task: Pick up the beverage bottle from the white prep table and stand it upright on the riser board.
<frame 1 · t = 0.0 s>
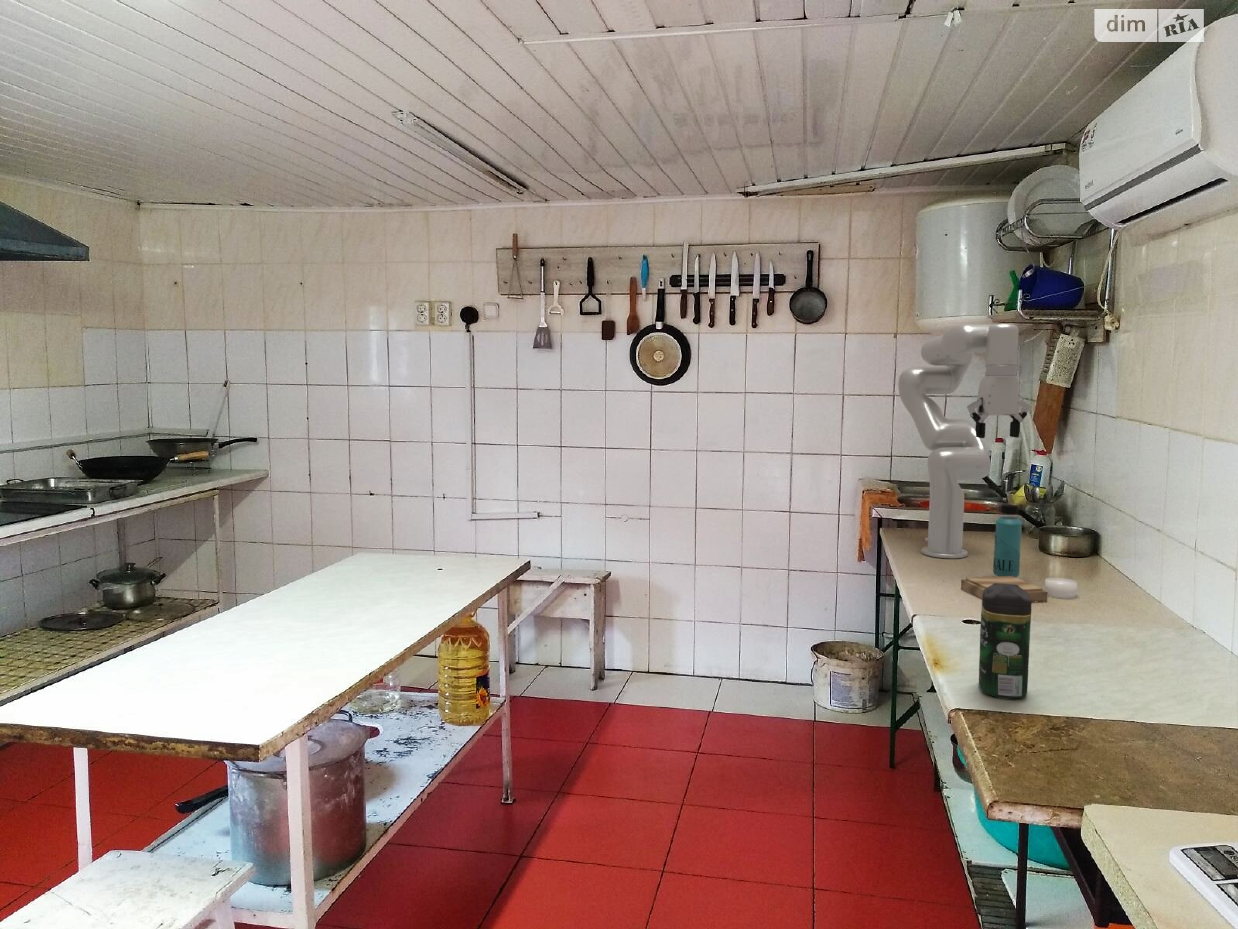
hand: (997, 437, 232), 37 cm above the kitchen counter, tool pointing down, fingers open, 9 cm apart
coffee jar: (1001, 691, 154), on the kitchen counter
white soap bar: (1060, 595, 216), on the kitchen counter
beverage bottle: (1005, 581, 230), on the kitchen counter
riser: (1002, 595, 216), on the kitchen counter
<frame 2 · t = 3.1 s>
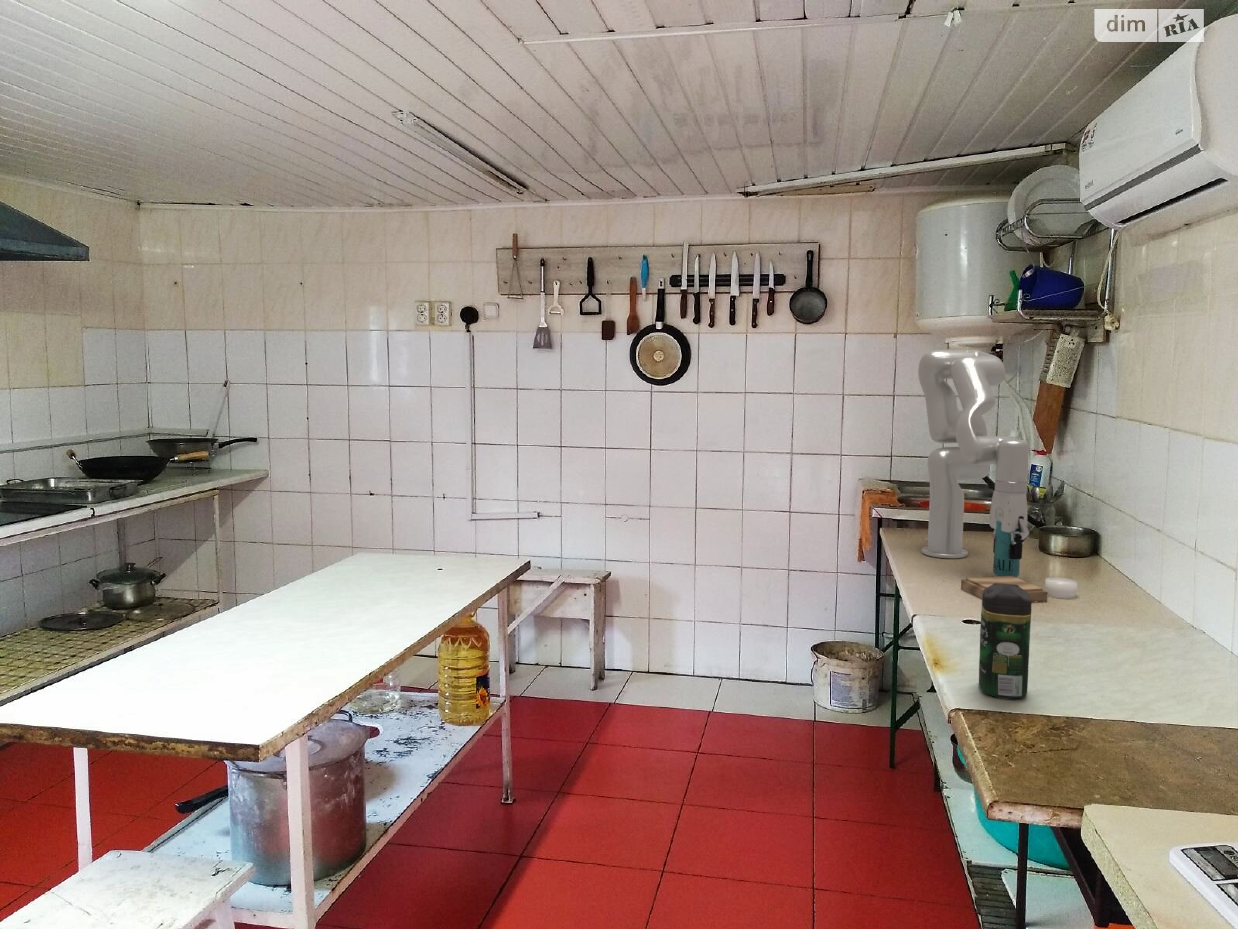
hand: (1007, 555, 229), 7 cm above the kitchen counter, tool pointing down, fingers closed on beverage bottle, 6 cm apart
beverage bottle: (1005, 581, 230), on the kitchen counter, touching gripper
everything else where it was.
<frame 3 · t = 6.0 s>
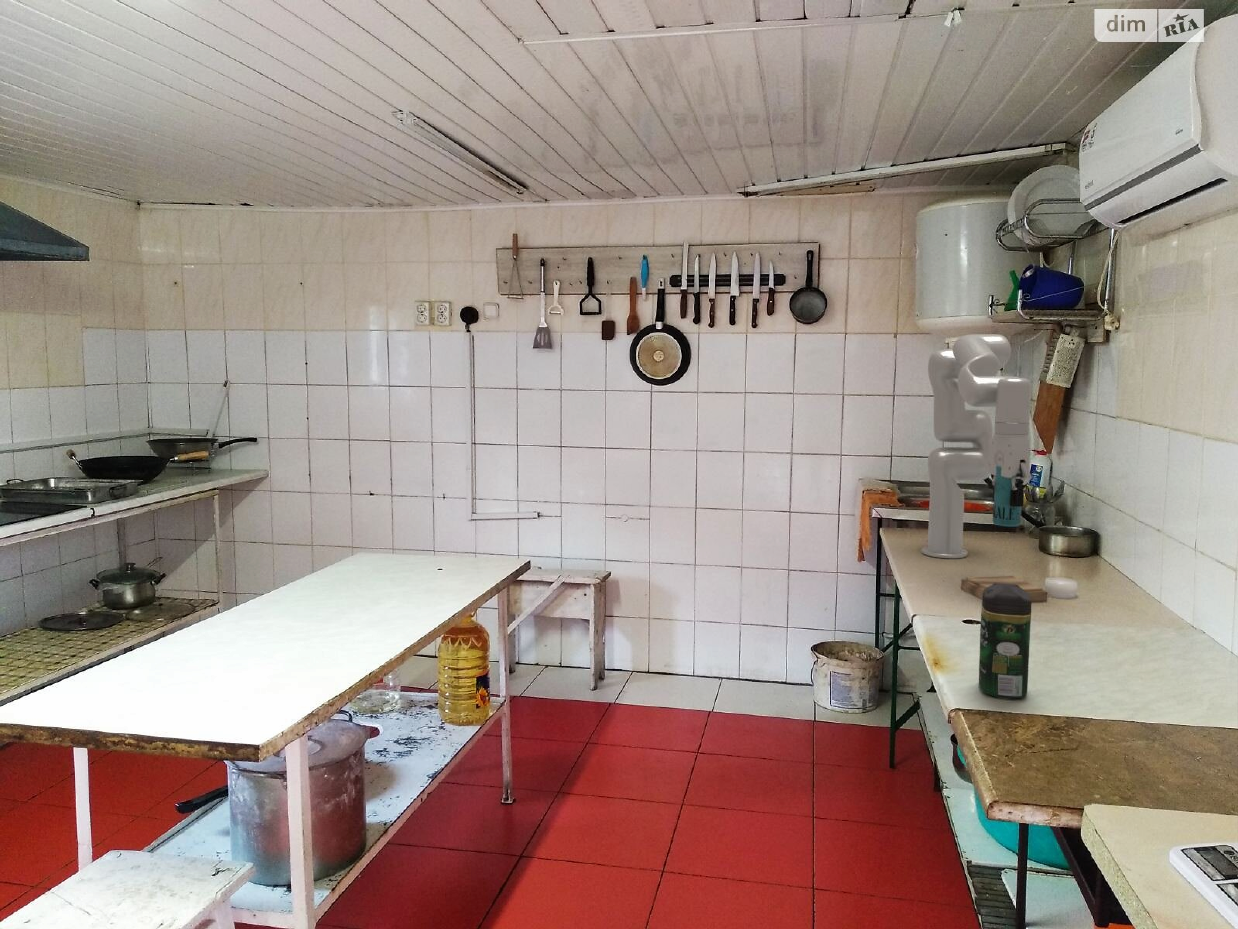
hand: (1007, 503, 213), 23 cm above the kitchen counter, tool pointing down, fingers closed on beverage bottle, 6 cm apart
beverage bottle: (1006, 531, 214), point 16 cm above the kitchen counter, touching gripper
everything else where it was.
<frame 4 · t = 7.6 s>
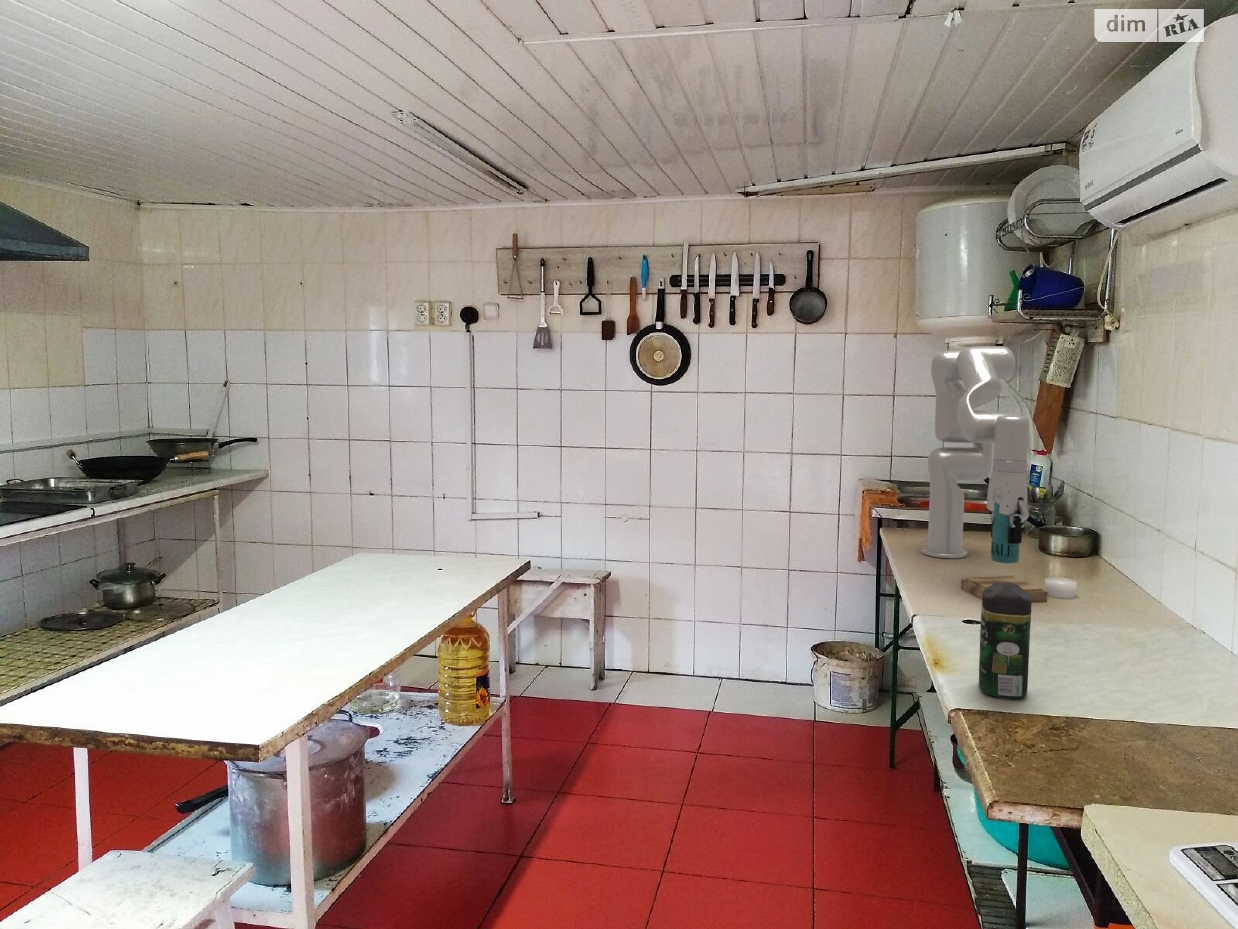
hand: (1005, 539, 214), 14 cm above the kitchen counter, tool pointing down, fingers closed on beverage bottle, 6 cm apart
beverage bottle: (1004, 567, 215), point 7 cm above the kitchen counter, touching gripper
everything else where it was.
when the fingers open (10 cm above the kitchen counter, at t = 8.8 s): beverage bottle stays where it is, resting on riser.
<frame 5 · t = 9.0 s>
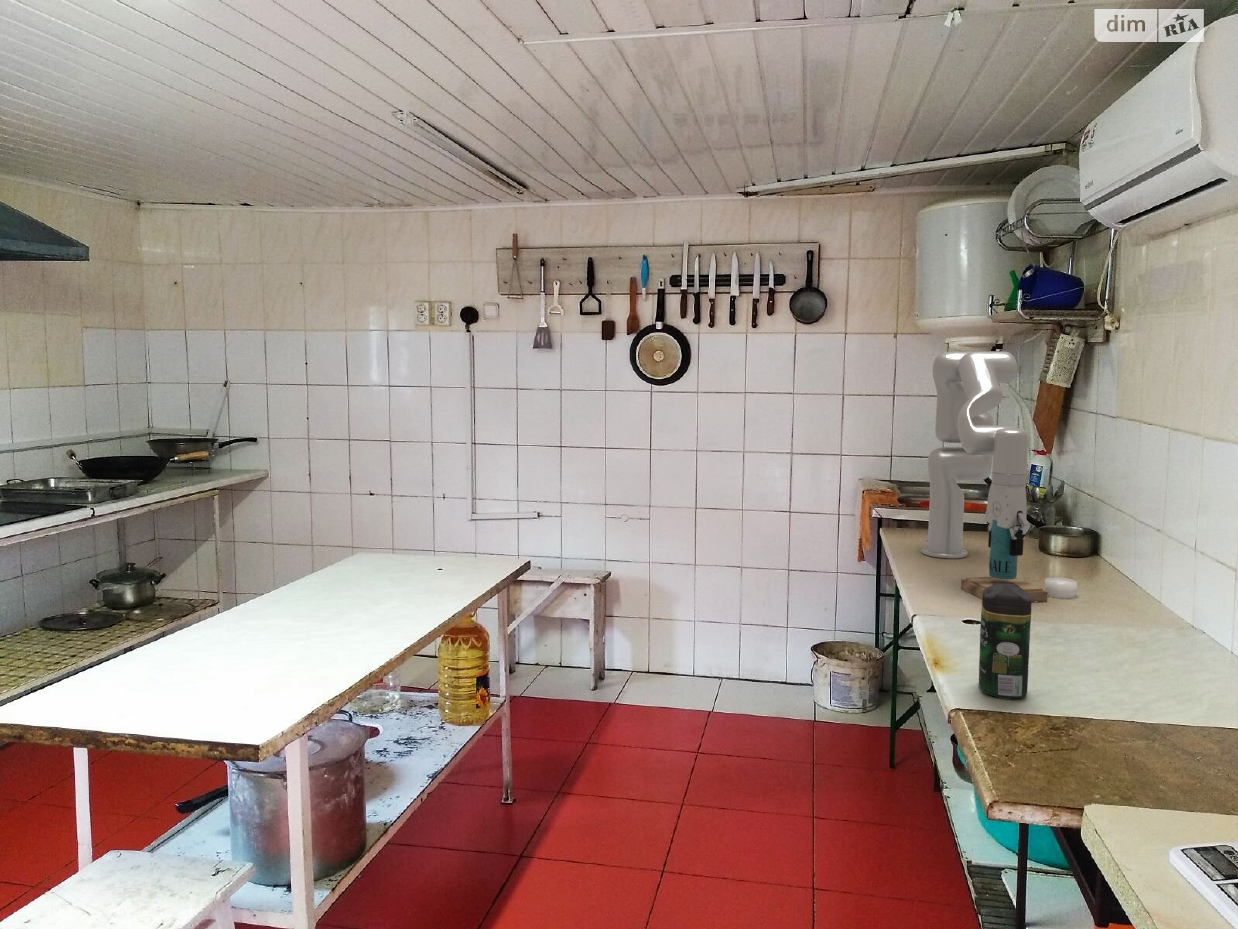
hand: (1005, 551, 215), 11 cm above the kitchen counter, tool pointing down, fingers open, 8 cm apart
beverage bottle: (1002, 583, 216), point 3 cm above the kitchen counter, touching riser
everything else where it was.
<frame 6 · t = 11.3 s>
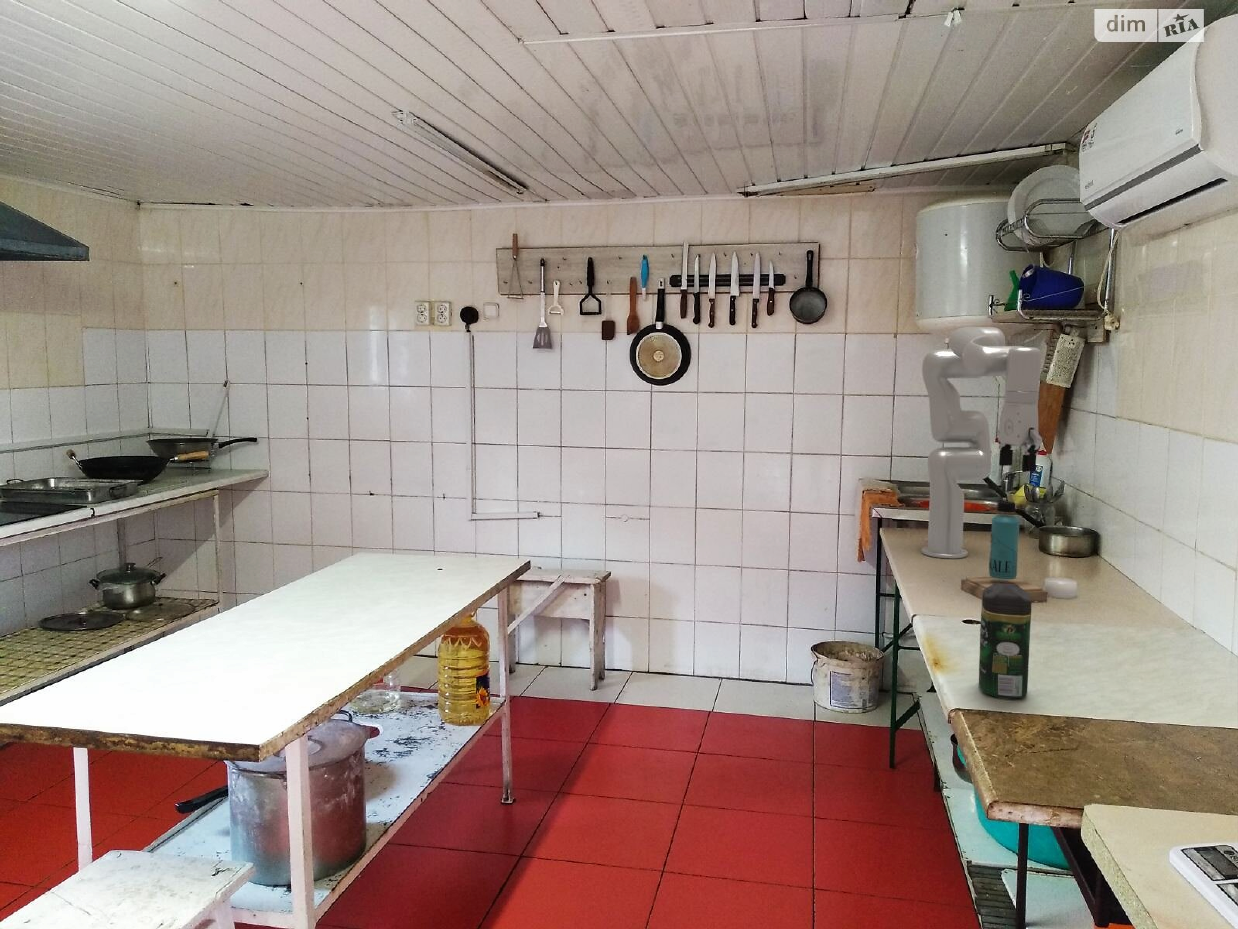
hand: (1016, 468, 217), 31 cm above the kitchen counter, tool pointing down, fingers open, 9 cm apart
nothing on the kitchen counter moved.
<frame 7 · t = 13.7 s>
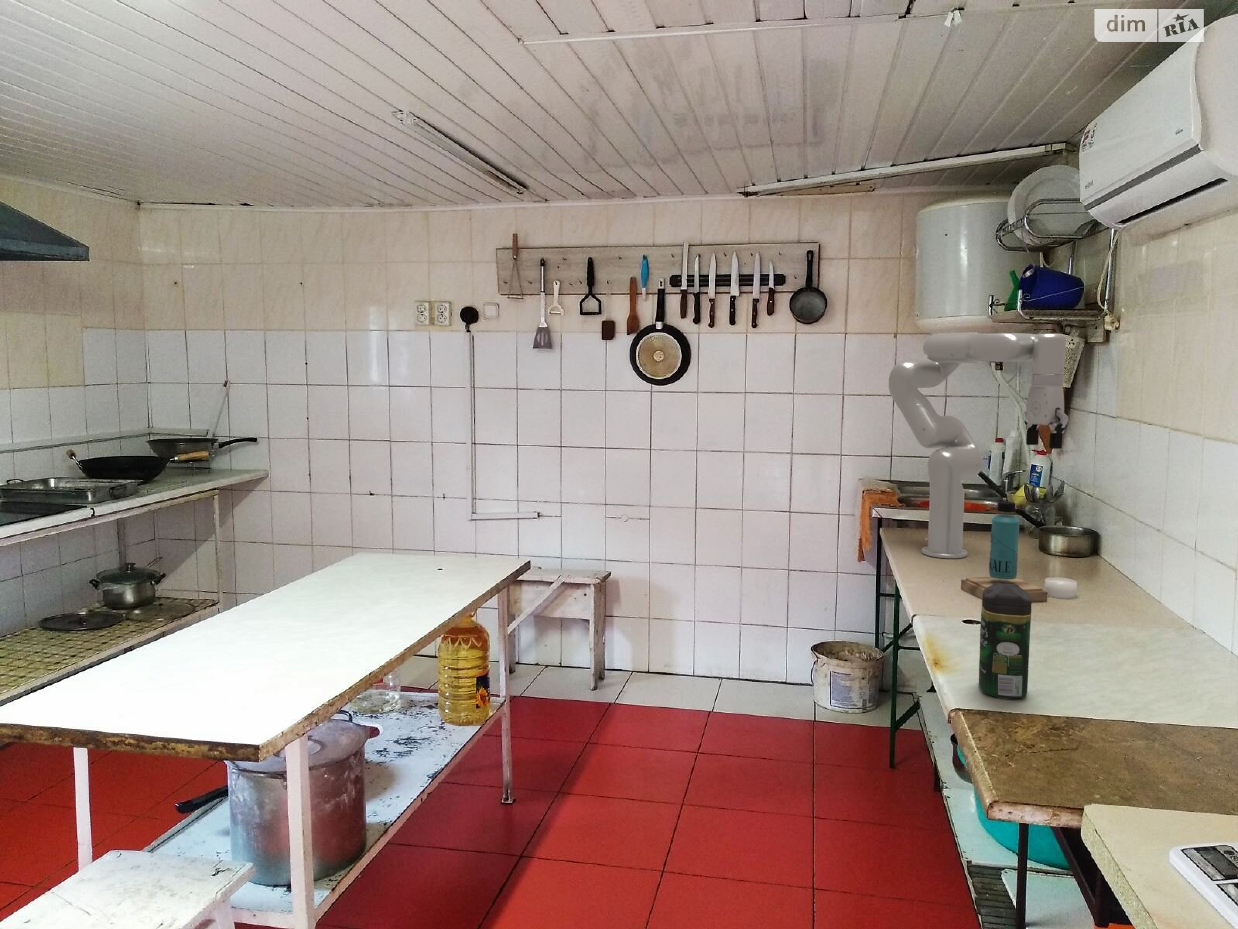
hand: (1043, 446, 233), 34 cm above the kitchen counter, tool pointing down, fingers open, 9 cm apart
nothing on the kitchen counter moved.
at the end: beverage bottle inside the target area on the riser (0.6 cm from its centre), point 2.8 cm above the riser's base; beverage bottle tilted 0°; the gripper is holding nothing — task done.
